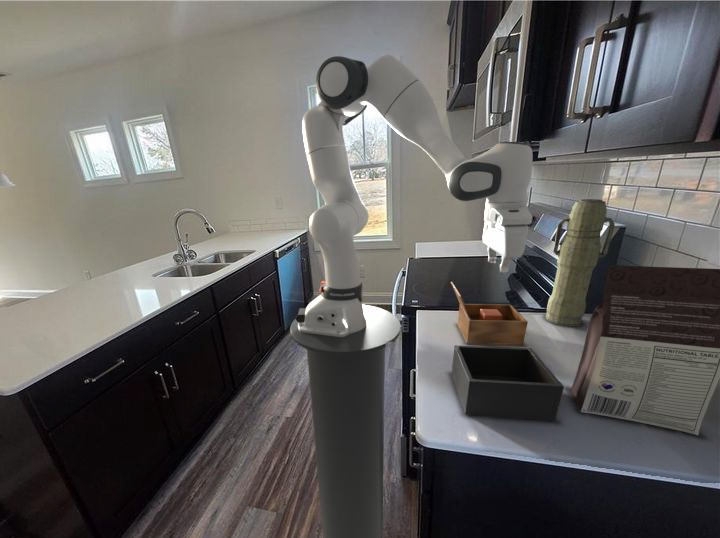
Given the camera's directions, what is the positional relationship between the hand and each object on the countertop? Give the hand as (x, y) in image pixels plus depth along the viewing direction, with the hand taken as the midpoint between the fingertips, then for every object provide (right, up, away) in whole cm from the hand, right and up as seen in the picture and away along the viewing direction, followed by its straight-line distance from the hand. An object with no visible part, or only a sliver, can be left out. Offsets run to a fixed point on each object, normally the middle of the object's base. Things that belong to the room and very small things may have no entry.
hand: (497, 267), depth 84 cm
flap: (-8, -8, +5) cm, 12 cm away
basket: (-10, -29, -18) cm, 35 cm away
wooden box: (+1, -19, +7) cm, 20 cm away
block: (+1, -18, +7) cm, 19 cm away
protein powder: (+11, -30, -24) cm, 40 cm away
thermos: (+27, -15, +12) cm, 33 cm away
